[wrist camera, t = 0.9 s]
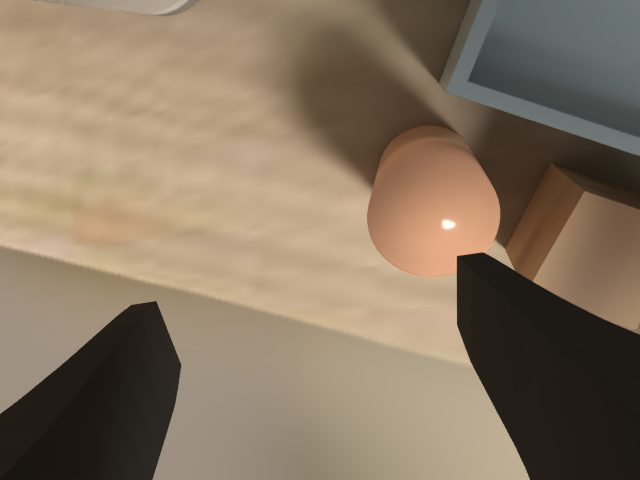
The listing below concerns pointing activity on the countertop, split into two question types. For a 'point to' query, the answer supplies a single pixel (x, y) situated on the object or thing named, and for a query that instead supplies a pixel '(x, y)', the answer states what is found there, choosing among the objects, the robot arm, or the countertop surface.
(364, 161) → the countertop surface
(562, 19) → the tote
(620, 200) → the walnut cube
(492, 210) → the terracotta capsule
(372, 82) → the countertop surface
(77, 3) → the travel mug
